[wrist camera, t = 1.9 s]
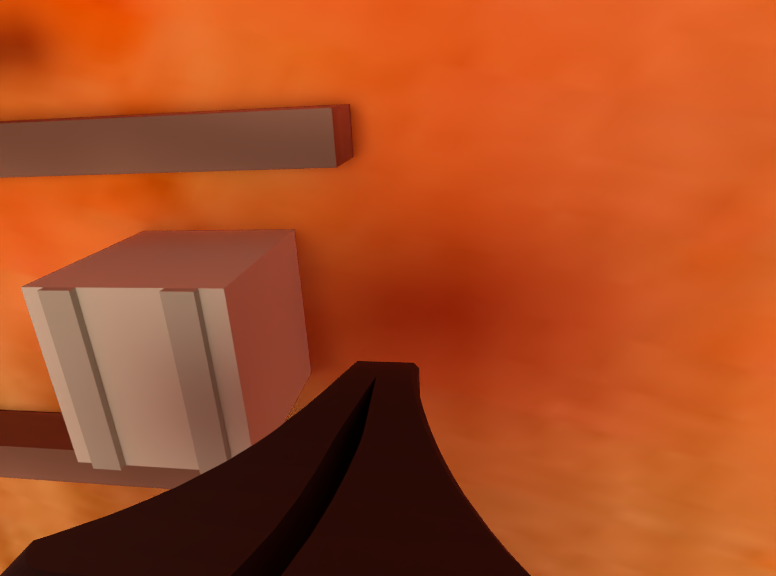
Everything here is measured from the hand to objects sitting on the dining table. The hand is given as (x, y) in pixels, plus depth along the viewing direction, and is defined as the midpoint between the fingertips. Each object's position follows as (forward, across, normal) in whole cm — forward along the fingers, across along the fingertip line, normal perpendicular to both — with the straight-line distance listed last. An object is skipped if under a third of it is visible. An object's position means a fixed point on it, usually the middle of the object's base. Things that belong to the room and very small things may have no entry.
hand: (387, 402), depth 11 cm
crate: (+5, +6, 0) cm, 8 cm away
